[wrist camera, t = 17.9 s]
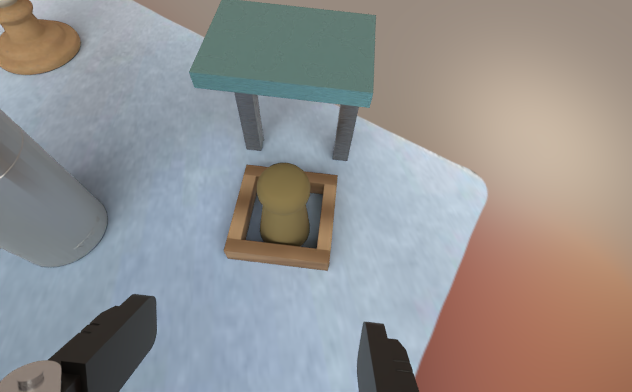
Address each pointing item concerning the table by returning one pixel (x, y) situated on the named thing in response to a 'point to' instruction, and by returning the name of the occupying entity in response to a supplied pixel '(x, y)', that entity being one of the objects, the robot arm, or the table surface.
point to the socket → (280, 253)
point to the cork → (284, 204)
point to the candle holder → (33, 40)
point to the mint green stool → (289, 61)
